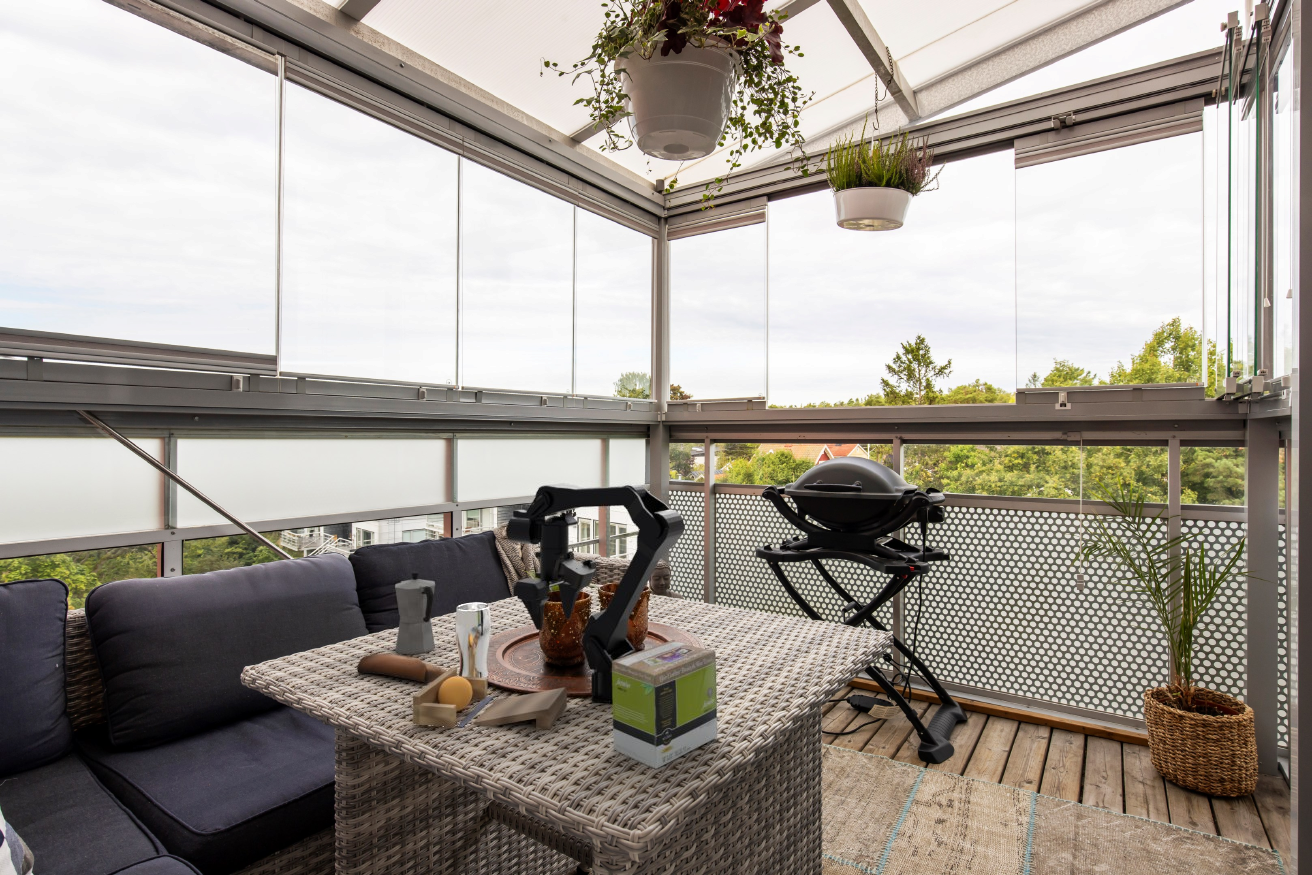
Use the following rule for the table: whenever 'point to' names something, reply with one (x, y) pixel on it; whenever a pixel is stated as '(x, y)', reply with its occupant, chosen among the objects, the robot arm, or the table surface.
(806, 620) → the table surface
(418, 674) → the sunglasses case
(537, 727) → the ramp
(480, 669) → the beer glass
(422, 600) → the coffeepot
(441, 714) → the wooden u-shaped bracket
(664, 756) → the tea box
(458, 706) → the ball
